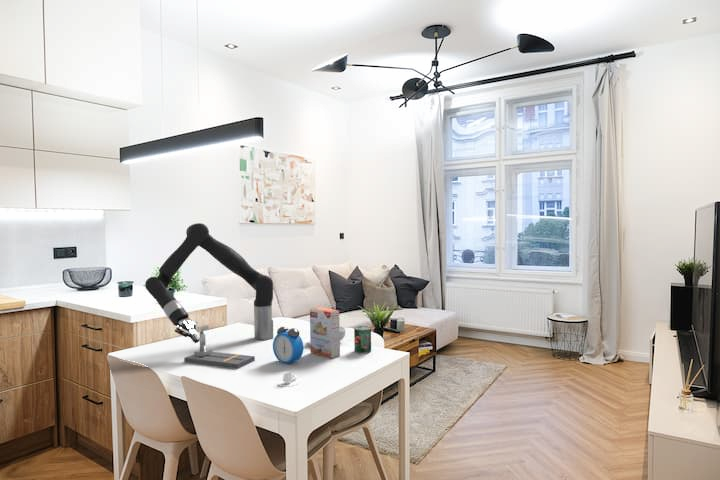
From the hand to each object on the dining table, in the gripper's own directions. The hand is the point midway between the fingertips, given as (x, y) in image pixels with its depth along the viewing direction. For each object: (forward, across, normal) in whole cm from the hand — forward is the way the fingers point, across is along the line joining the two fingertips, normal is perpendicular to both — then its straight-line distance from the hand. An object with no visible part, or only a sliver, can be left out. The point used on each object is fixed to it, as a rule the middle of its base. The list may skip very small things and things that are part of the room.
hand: (197, 341), depth 203 cm
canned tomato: (+52, +36, -40) cm, 75 cm away
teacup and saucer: (+46, -12, -34) cm, 58 cm away
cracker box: (+42, +25, -30) cm, 57 cm away
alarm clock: (+34, +9, -23) cm, 43 cm away
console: (+14, 0, -3) cm, 14 cm away
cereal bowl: (+36, +45, -24) cm, 63 cm away
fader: (+6, 0, +2) cm, 6 cm away
